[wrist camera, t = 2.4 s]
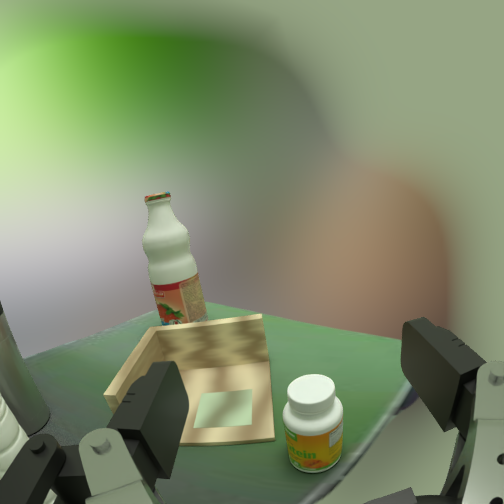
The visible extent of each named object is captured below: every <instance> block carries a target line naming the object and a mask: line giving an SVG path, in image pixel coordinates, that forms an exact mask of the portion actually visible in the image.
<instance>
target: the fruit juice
mask: <svg viewBox="0 0 504 504" xmlns="http://www.w3.org/2000/svg"><path fill="white" fill-rule="evenodd" d="M170 200H171V196H170V193H169V192H163V193H158V194H153V195H149V196H146V197H145V202H146V205H147V206H148V212H149V216H148V226H147V229H146V231H145V233H144V236H143V239H142V244H143V249H144V251H145V254H146V255H147V257H148V260H149V265H148V272H149V278H150V282H151V285H152V289H153V293H154V297H155V301H156V304H157V308H158V311H159V315H160V318H161V322H162V325H163V326H166V325H176V324H186V323H194V322H203V321H209V319H208V315H207V311H206V307H205V302H204V298H203V294H202V289H201V285H200V281H199V277H198V271H197V266H196V263H195V260H194V257H193V256H192V255H191V253H190V236H189V233H188V231H187V229H186V228H185V227H184V226H183V225H182V224H181V223H180V222H179V221H178V220H177V219H176V217H175V215H174V213H173V211H172V209H171V205H170Z"/></svg>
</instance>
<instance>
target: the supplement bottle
mask: <svg viewBox="0 0 504 504" xmlns="http://www.w3.org/2000/svg"><path fill="white" fill-rule="evenodd" d="M287 393H288V403H287V404H286V406H285V408H284V411H283V422H284V428H285V434H286V441H287V447H288V454H289V459H290V461H291V463H292V464H293V466H294V467H296V468H297V469H299V470H301V471H304V472H308V473H317V472H322V471H325V470H327V469H329V468H331V467H332V466H334V465H335V464H336V463H337V462H338V460H339V458H340V456H341V452H342V434H343V407H342V404H341V402H340V400H339V399H338V398H337V397H336V396H335V385H334V383H333V381H332V380H331V379H330V378H328V377H326V376H324V375H318V374H310V375H305V376H301V377H299V378H297V379H295V380H294V381H293V382H292V383H291V384H290V385H289V387H288V390H287Z"/></svg>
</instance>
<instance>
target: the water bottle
mask: <svg viewBox="0 0 504 504" xmlns="http://www.w3.org/2000/svg"><path fill="white" fill-rule="evenodd" d="M28 440H29V438H28V436H27V435H26V433H25V432H24V430H23V429H22V427H21V426H20V425H19V424H18V422H17V420H16V418H15V416H14V415H13V413H12V412H11V410H10V409H9V407H8V406H7V404H6V403H5V400H4V399H3V397H2V396H1V393H0V480H1V478H2V477H3V475H4V474H5V472H6V471H7V469H8V468H9V466H10V465H11V463H12V462H13V460H14V459H15V457H16V456H17V454H18V453H19V451H20V450H21V448H22V447H23V445H24V444H25V443H26V442H27V441H28ZM56 496H57V495H56V494H55V493H54V492H53V491H52V490H51V489H50V491H49V493H48V495H47V497H46V499H45V501H44V503H43V504H53V503H54V501H55V499H56Z"/></svg>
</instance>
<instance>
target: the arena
mask: <svg viewBox="0 0 504 504" xmlns="http://www.w3.org/2000/svg"><path fill="white" fill-rule="evenodd" d="M160 361H175V362H176V364H177V366H178V369H179V372H180V375H181V378H182V381H183V383H184V386H185V389H186V392H187V394H188V398H189V412H188V415H187V419H186V422H185V426H184V430H183V433H182V437H181V440H180V444H179V446H212V445H233V444H247V443H258V442H268V441H275V432H274V418H273V404H272V390H271V376H270V363H269V355H268V349H267V343H266V337H265V331H264V325H263V319H262V314H256V315H249V316H242V317H235V318H227V319H219V320H211V321H203V322H194V323H186V324H176V325H166V326H156V327H149V329H148V330H147V332H146V333H145V334H144V336H143V337H142V339H141V340H140V342H139V343H138V344H137V346H136V347H135V349H134V350H133V352H132V353H131V355H130V356H129V358H128V359H127V360H126V362H125V363H124V365H123V366H122V368H121V369H120V371H119V372H118V374H117V375H116V377H115V378H114V380H113V381H112V383H111V384H110V386H109V387H108V389H107V390H106V392H105V393H104V397H105V399H106V401H107V403H108V405H109V407H110V409H111V411H112V412H113V414H114V413H115V412H116V410H117V408H118V406H119V405H120V403H122V399H123V398H124V396H125V395H126V393H127V391H128V389H129V388H130V386H131V384H132V383H133V382H135V381H136V380H137V379H138V378H139V377H141V376H145V375H146V373H147V371H148V370H149V368H150V366H151V364H152V363H153V362H160Z"/></svg>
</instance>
